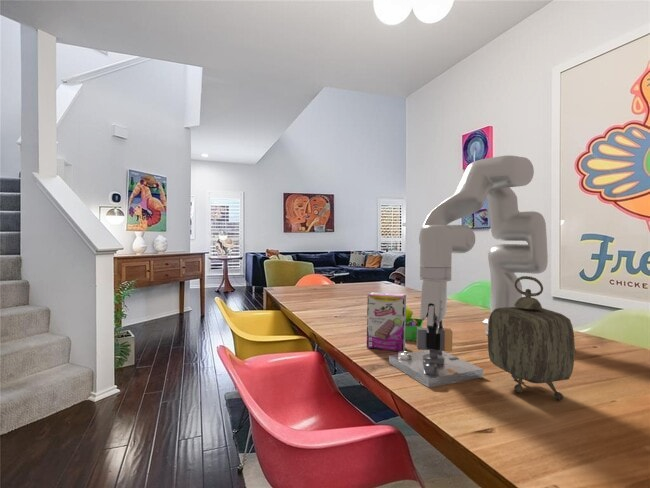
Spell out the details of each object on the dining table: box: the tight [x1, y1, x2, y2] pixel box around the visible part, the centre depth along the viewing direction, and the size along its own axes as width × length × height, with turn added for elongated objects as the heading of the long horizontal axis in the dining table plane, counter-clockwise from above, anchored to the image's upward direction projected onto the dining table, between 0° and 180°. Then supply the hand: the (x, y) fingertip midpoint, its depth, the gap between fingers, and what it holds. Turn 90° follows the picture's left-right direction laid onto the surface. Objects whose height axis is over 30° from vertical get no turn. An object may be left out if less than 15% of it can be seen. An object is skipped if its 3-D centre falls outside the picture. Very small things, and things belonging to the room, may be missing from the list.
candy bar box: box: [366, 291, 407, 352], centre depth 101 cm, size 11×5×16 cm, turn 71°
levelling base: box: [388, 350, 484, 389], centre depth 84 cm, size 16×16×4 cm
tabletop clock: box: [487, 275, 576, 401], centre depth 73 cm, size 14×9×25 cm, turn 17°
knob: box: [416, 326, 453, 365], centre depth 84 cm, size 5×8×8 cm, turn 81°
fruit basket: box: [405, 306, 424, 342], centre depth 114 cm, size 11×9×11 cm
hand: (434, 345), depth 84 cm, fingers closed on knob, 3 cm apart
